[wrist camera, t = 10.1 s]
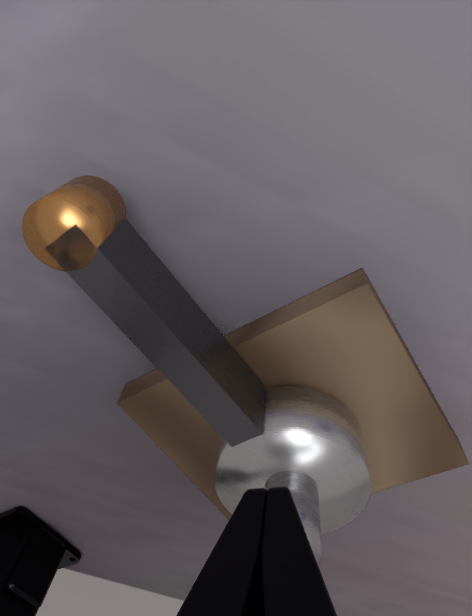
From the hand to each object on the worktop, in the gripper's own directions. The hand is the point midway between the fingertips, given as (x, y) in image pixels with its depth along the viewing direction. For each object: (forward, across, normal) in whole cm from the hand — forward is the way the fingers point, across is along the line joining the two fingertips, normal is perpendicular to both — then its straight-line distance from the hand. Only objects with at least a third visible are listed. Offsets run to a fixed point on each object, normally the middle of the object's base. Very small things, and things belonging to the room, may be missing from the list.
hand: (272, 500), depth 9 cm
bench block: (+13, +1, +10) cm, 16 cm away
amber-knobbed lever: (+11, +4, +4) cm, 12 cm away
